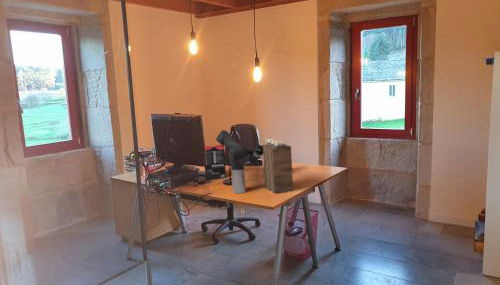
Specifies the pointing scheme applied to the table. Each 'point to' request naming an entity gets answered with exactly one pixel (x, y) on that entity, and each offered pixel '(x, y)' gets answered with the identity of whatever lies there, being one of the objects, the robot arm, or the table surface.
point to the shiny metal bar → (272, 141)
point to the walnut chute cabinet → (278, 167)
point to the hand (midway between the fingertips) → (265, 145)
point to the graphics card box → (215, 162)
